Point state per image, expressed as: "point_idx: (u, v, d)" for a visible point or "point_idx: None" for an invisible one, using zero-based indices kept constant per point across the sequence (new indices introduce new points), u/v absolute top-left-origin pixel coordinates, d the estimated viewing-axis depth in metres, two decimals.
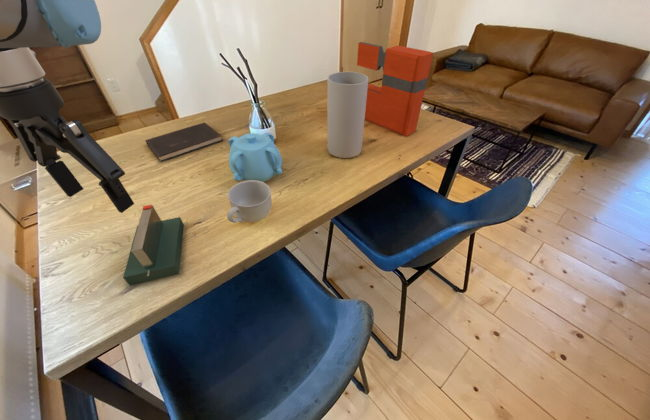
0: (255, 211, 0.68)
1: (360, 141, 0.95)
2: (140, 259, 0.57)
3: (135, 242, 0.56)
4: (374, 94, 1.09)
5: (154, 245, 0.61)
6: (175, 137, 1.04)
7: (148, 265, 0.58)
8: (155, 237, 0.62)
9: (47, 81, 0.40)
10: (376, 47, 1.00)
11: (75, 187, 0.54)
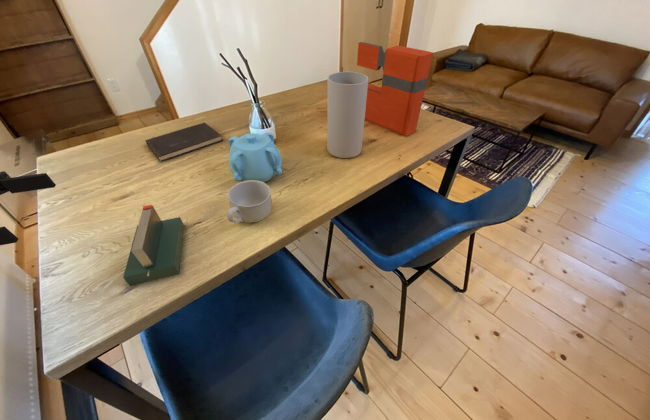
0: (255, 211, 0.68)
1: (360, 141, 0.95)
2: (140, 259, 0.57)
3: (135, 242, 0.56)
4: (374, 94, 1.09)
5: (154, 245, 0.61)
6: (175, 137, 1.04)
7: (148, 265, 0.58)
8: (155, 237, 0.62)
9: None
10: (376, 47, 1.00)
11: None
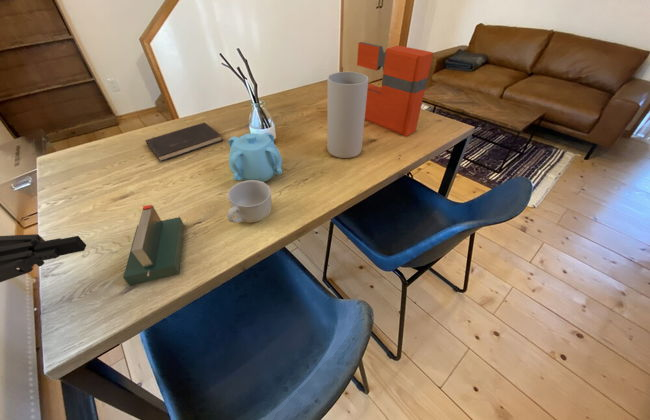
0: (255, 211, 0.68)
1: (360, 141, 0.95)
2: (140, 259, 0.57)
3: (135, 242, 0.56)
4: (374, 94, 1.09)
5: (154, 245, 0.61)
6: (175, 137, 1.04)
7: (148, 265, 0.58)
8: (155, 237, 0.62)
9: None
10: (376, 47, 1.00)
11: None
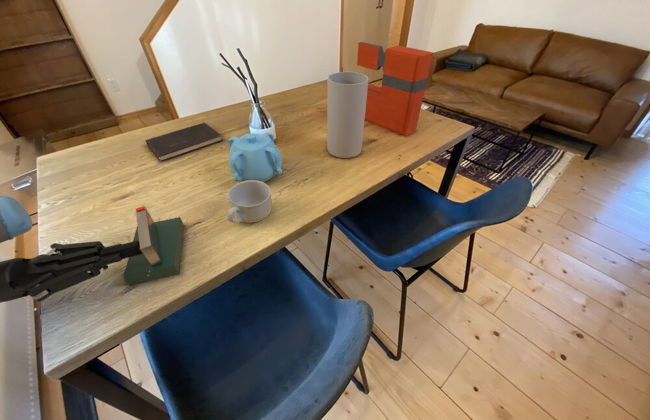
0: (255, 211, 0.68)
1: (360, 141, 0.95)
2: (148, 256, 0.57)
3: (141, 241, 0.57)
4: (374, 94, 1.09)
5: (157, 243, 0.62)
6: (175, 137, 1.04)
7: (156, 262, 0.59)
8: (155, 237, 0.63)
9: None
10: (376, 47, 1.00)
11: None
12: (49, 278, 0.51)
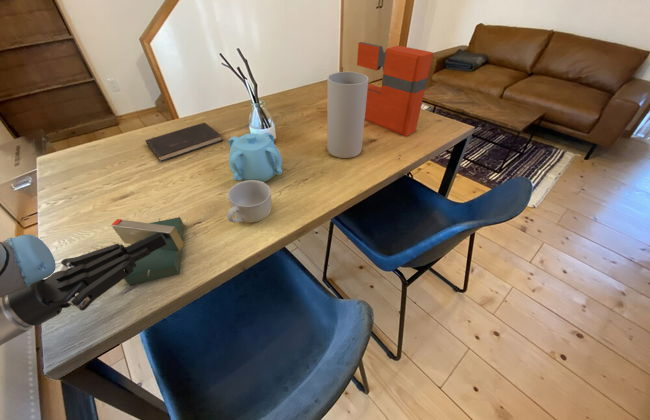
0: (255, 211, 0.68)
1: (360, 141, 0.95)
2: (175, 240, 0.60)
3: (161, 230, 0.59)
4: (374, 94, 1.09)
5: None
6: (175, 137, 1.04)
7: (180, 245, 0.62)
8: None
9: None
10: (376, 47, 1.00)
11: None
12: (82, 287, 0.50)
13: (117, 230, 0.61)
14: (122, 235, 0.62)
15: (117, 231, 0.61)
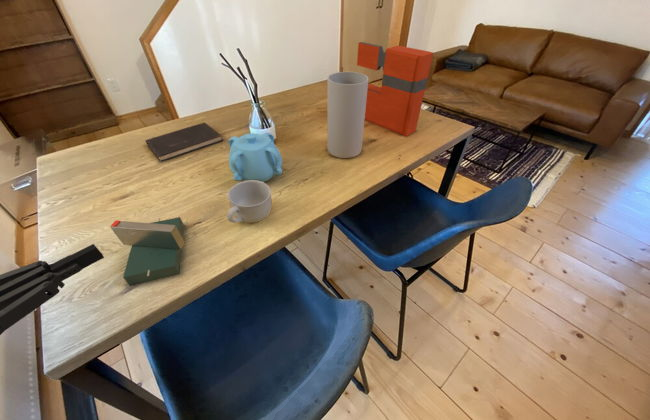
0: (255, 211, 0.68)
1: (360, 141, 0.95)
2: (176, 238, 0.61)
3: (162, 229, 0.59)
4: (374, 94, 1.09)
5: None
6: (175, 137, 1.04)
7: (182, 243, 0.63)
8: None
9: None
10: (376, 47, 1.00)
11: None
12: None
13: (116, 231, 0.61)
14: (121, 236, 0.62)
15: (116, 232, 0.61)
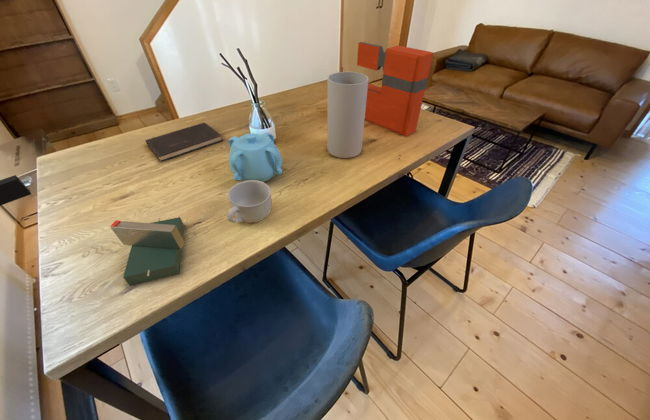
0: (255, 211, 0.68)
1: (360, 141, 0.95)
2: (176, 238, 0.61)
3: (162, 229, 0.59)
4: (374, 94, 1.09)
5: None
6: (175, 137, 1.04)
7: (182, 243, 0.63)
8: None
9: None
10: (376, 47, 1.00)
11: None
12: None
13: (116, 231, 0.61)
14: (121, 236, 0.62)
15: (116, 232, 0.61)
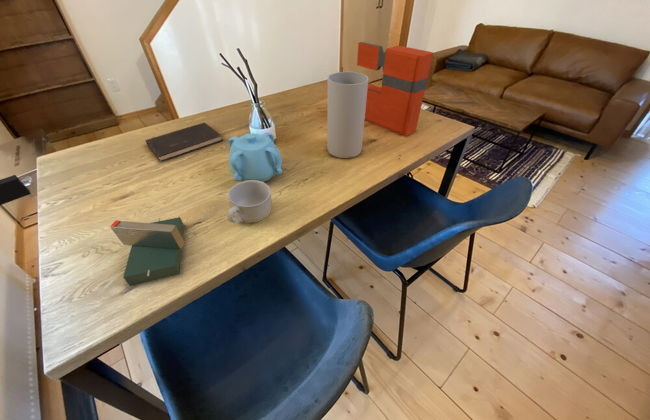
0: (255, 211, 0.68)
1: (360, 141, 0.95)
2: (176, 238, 0.61)
3: (162, 229, 0.59)
4: (374, 94, 1.09)
5: None
6: (175, 137, 1.04)
7: (182, 243, 0.63)
8: None
9: None
10: (376, 47, 1.00)
11: None
12: None
13: (116, 231, 0.61)
14: (121, 236, 0.62)
15: (116, 232, 0.61)
